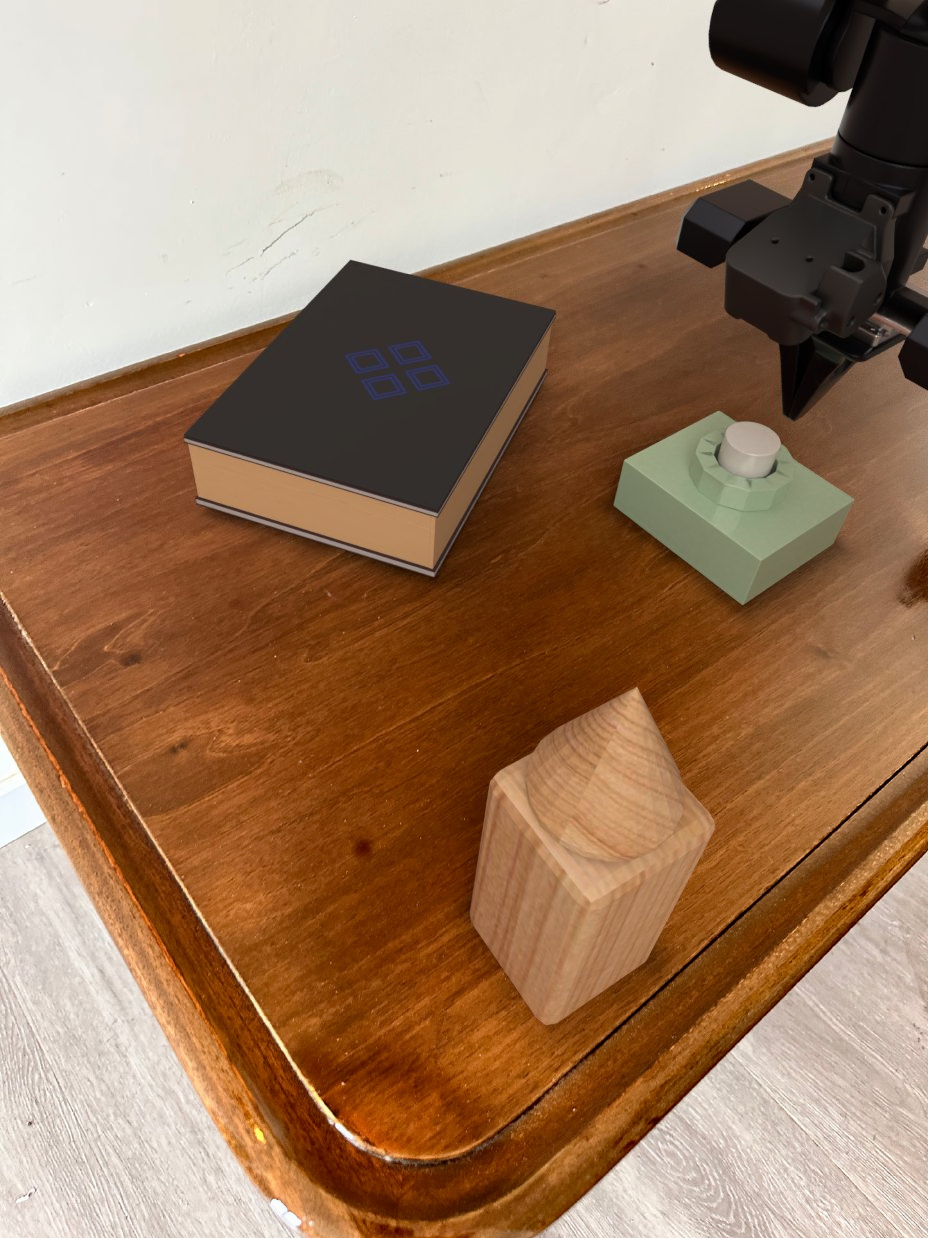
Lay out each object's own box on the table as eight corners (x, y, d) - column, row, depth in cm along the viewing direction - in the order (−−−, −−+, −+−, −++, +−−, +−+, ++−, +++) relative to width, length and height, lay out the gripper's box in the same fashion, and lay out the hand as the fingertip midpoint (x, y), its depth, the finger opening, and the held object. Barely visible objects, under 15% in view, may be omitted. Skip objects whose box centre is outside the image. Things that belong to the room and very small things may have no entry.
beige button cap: (782, 466, 63) (792, 442, 61) (748, 487, 61) (757, 462, 60) (740, 439, 65) (749, 414, 63) (706, 458, 63) (714, 433, 62)
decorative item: (569, 853, 49) (649, 589, 34) (653, 960, 46) (782, 717, 31) (463, 917, 47) (500, 661, 32) (543, 1036, 43) (627, 811, 28)
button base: (833, 544, 67) (865, 478, 62) (742, 606, 62) (770, 539, 58) (704, 455, 72) (725, 388, 68) (612, 505, 68) (628, 438, 63)
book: (197, 513, 65) (181, 434, 60) (351, 332, 81) (349, 258, 76) (433, 587, 61) (438, 510, 56) (545, 383, 77) (556, 309, 72)
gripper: (636, 106, 45) (585, 384, 57) (989, 274, 36) (842, 564, 48) (782, 65, 50) (707, 328, 62) (1123, 203, 41) (960, 481, 53)
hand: (792, 416), depth 56 cm, fingers closed
